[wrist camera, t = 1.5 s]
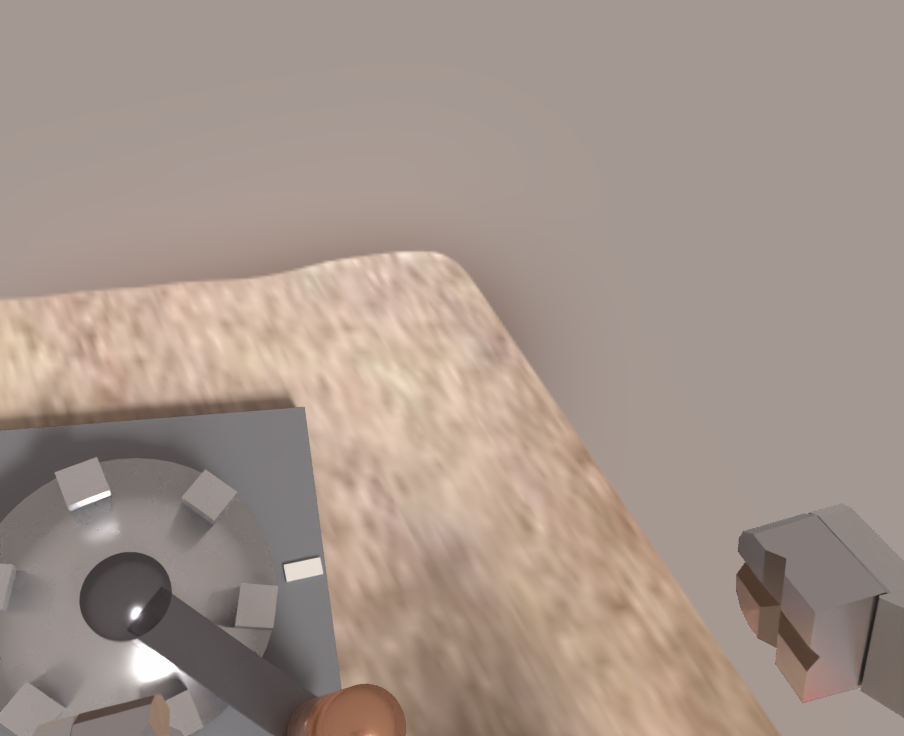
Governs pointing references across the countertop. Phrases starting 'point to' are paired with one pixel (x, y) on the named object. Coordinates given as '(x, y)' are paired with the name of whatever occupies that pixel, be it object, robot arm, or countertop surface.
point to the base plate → (258, 487)
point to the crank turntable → (152, 607)
